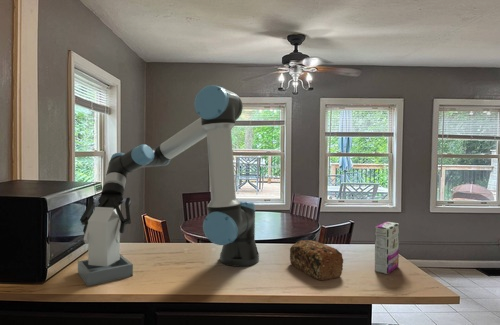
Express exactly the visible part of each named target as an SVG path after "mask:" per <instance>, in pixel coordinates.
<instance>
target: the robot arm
mask: <svg viewBox="0 0 500 325" xmlns="http://www.w3.org/2000/svg"><path fill="white" fill-rule="evenodd" d="M194 110H195V112H196V113H197V115H198V116H199V118H197V119H196V120H195V121H193V122H191V123H189V125H187V126H186V127H184V128H182V129H181V130H179V131H178V132H176V133H175V134H174V135H172V136H171V137H169V138H167V139H166V140H165V141H163V142H162V143H160V144H159V145H158V146H156V147H153V148H151V146H150V145H147V144H145V143H142V144H140V145H138V146H136V147H133V148H132V149H130V150H129V151H127V152H125V153H124V152H115V153H113V154H112V155H111V157H110V160H109V161H108V167H107V169H106V170H107V171H106V174H105V178H104V182H103V186H102V190H101V193H100V196H99V197H98V198H94V197H91V198H90V199H89V203H88V205H87V207H86V209H85V210H84V212H83V214H82V215H81V217H80V218H79V221H80V223H81V225H82V226H84V227H83V231H82V232H83V234H84V237H83V242H84V243H85V245H88V220H89V218H90V217H91V215H92V214H93V212H94V210H95V207H107V208H114V210H115V213H116V214H117V215H118V216H119V218H120V222H118V226H117V231H116V236H115V241H116V243H119V239H120V238H121V234H124V232H125V228H126V225H130V224H131V223H132V217H131V216H132V215H131V204H132V200H131V198H130V197H126V198H124V192H125V187H126V183H127V178H128V175H129V174H130V173H132V172H135V171H137V170H139V169H141V168H152V167H160V168H161V167H164V166H167V165H169V164H170V162H171V161H172V159H173V158H176V156H179V155H180V154H182V153H183V152H185V151H186V150H188V149H189V148H190V147H193V146H194V145H196V144H197V143H199V142H200V141H202V140H203V139H205V138H206V141H207V142H206V144H207V158H208V171H209V172H208V173H209V184H210V185H209V188H210V201H209V203H208V204H207V205H206V206H207V207H206V209H207V215H206V216H205V218H204V219H203V223H202V230H203V233H204V235H205V237H206V238H207V239H208V240H209V241H210V243H212V244H214V245H217V246H222V248H221V251H220V254H219V261H220V262H221V263H222V264H224V265H226V266H233V267H247V266H252V265H255V264H257V263H258V262H259V260H260V253H259V251H258V247H257V244H256V238H255V237H256V236H255V233H256V231H255V230H256V206H255V203H254V202H252V201H246V200H245V201H244V200H238V199H237V197H236V183H235V182H236V181H235V170H234V169H235V166H234V154H233V153H234V150H233V138H232V129H233V128H234V127H235V126H236V121H237V120H239V118H240V116H241V115H242V112H243V110H244V109H243V101H242V99H241V97H240V96H239V95H238V94H237V93H235V92H234V91H231V90H229V89H226V88H225V87H223V86H220V85H216V84H211V85H205V86H204V87H202V88H201V89H200V90H199V92H198V93H197V94H196V96H195V99H194ZM98 203H99V204H98ZM121 204H123V205H125V206H124V207H125V216H126V218H124V215H123V214H122V211H121V209H120V205H121Z"/></svg>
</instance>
